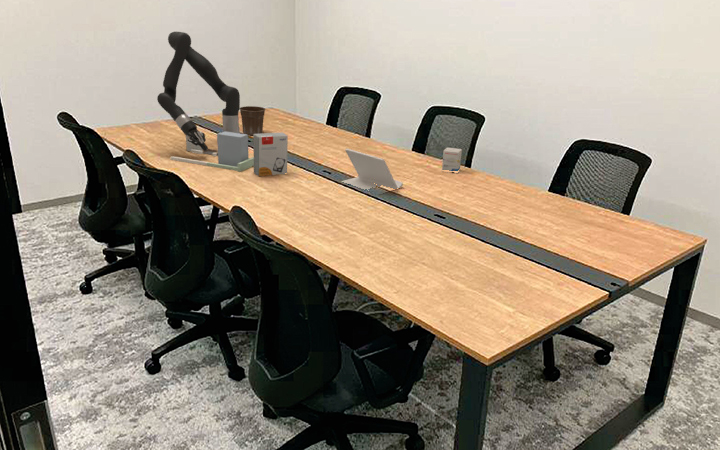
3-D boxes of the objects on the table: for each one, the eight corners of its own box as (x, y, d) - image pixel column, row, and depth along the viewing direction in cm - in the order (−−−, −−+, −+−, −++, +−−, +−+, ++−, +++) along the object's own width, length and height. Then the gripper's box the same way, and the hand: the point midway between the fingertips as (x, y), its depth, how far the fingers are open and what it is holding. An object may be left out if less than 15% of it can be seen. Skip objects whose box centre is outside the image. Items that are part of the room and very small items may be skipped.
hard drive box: (258, 177, 287) (257, 137, 279) (253, 172, 293) (252, 133, 286) (287, 174, 293) (287, 135, 286) (282, 170, 300) (282, 131, 292)
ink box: (460, 170, 314) (462, 148, 310) (457, 174, 307) (459, 152, 302) (444, 167, 317) (446, 146, 312) (441, 171, 309) (443, 150, 305)
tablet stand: (378, 195, 268) (380, 160, 262) (340, 183, 284) (341, 148, 278) (403, 188, 280) (406, 153, 274) (366, 176, 296) (367, 143, 290)
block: (226, 161, 311) (224, 131, 305) (248, 164, 306) (247, 134, 300) (218, 164, 305) (216, 133, 299) (241, 167, 300) (240, 137, 294)
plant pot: (271, 133, 375) (270, 108, 369) (254, 137, 362) (253, 111, 357) (252, 129, 383) (251, 105, 377) (234, 133, 370) (233, 108, 365)
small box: (203, 149, 331) (202, 131, 327) (200, 152, 326) (199, 133, 322) (190, 148, 331) (189, 130, 328) (186, 151, 326) (185, 132, 322)
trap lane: (199, 149, 330) (198, 142, 329) (266, 160, 316) (266, 153, 314) (169, 160, 308) (169, 152, 306) (240, 171, 293) (239, 164, 292)
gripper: (181, 122, 301) (203, 148, 302) (197, 117, 313) (217, 143, 313) (174, 130, 305) (195, 156, 305) (189, 126, 317) (209, 151, 317)
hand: (206, 149), depth 309 cm, fingers closed
